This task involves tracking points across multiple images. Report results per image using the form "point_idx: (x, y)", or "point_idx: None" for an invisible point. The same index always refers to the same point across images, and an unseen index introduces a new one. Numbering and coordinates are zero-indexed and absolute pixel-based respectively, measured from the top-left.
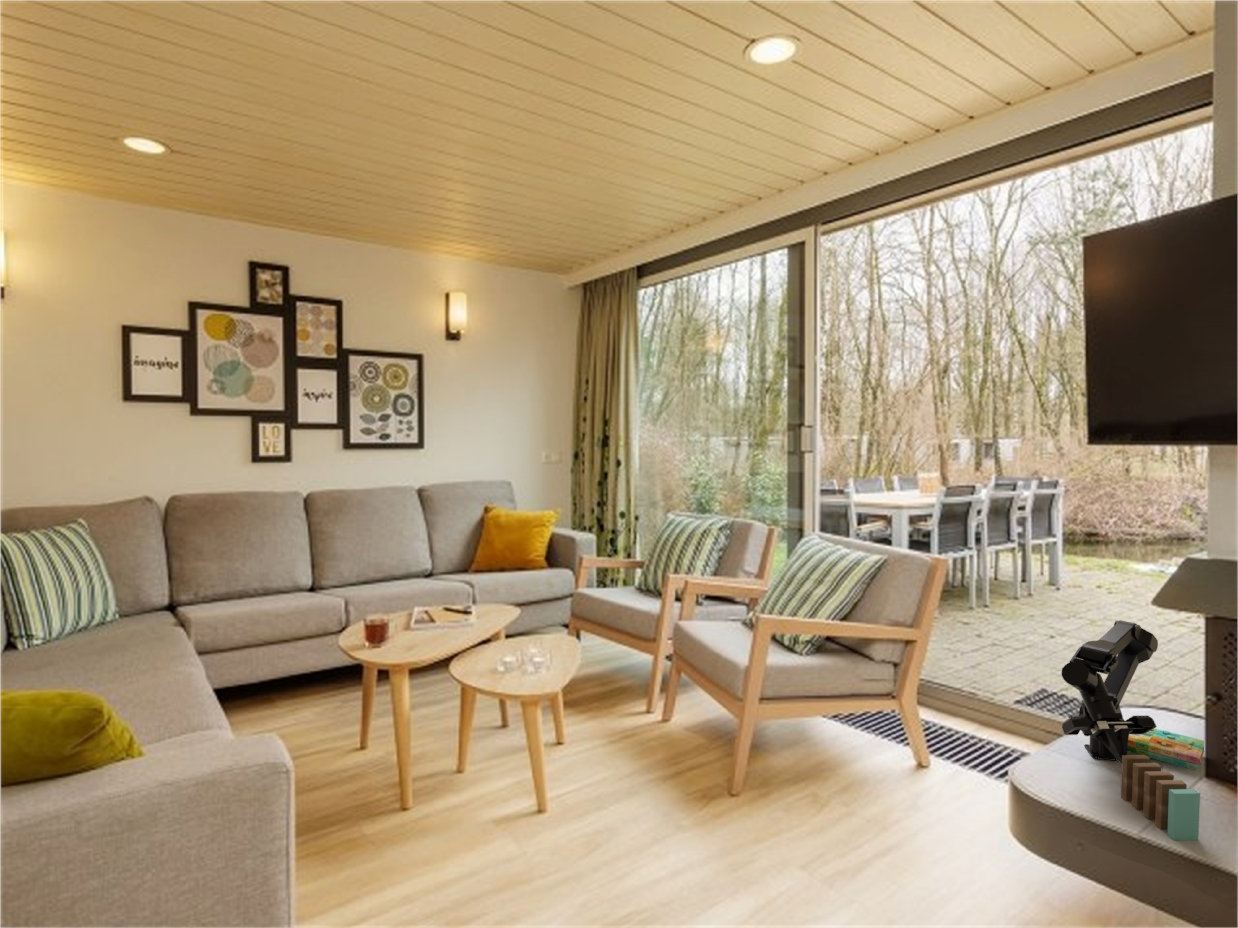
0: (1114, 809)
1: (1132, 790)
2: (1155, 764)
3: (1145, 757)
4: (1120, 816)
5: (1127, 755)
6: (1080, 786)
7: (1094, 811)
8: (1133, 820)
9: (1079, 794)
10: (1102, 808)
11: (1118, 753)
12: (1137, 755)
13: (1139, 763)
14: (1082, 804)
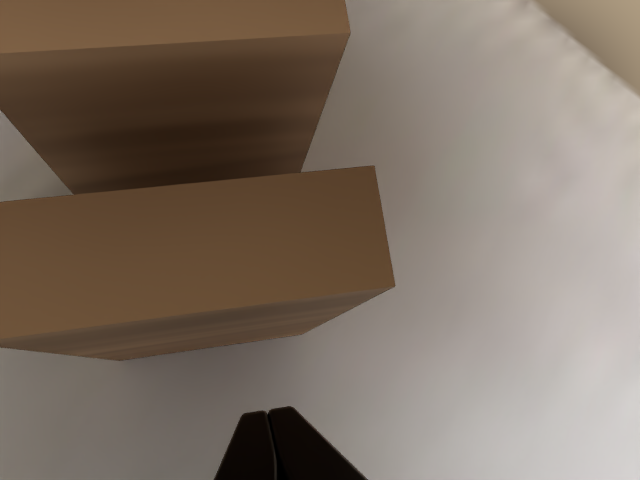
0: (425, 161)
1: (299, 172)
2: (10, 2)
3: (24, 231)
4: (424, 83)
5: (306, 288)
6: (537, 462)
7: (559, 128)
8: (364, 43)
9: (582, 336)
10: (497, 167)
11: (356, 469)
12: (127, 300)
13: (254, 32)
14: (604, 205)
